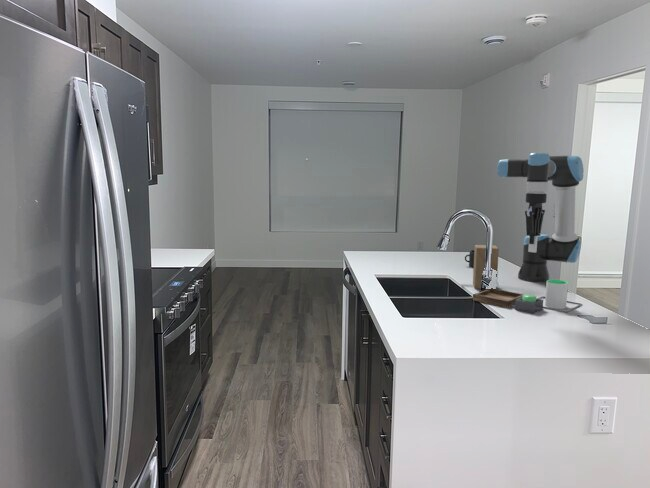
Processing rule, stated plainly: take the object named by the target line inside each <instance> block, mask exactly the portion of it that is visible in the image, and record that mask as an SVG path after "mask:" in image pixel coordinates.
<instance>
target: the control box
mask: <svg viewBox="0 0 650 488" xmlns="http://www.w3.org/2000/svg"><path fill="white" fill-rule="evenodd" d="M543 307H544V299H537V298H536V302H534V303H532V302H527V301H522V297H521V298H519V299H516V300H515V305H514V310H517V311H520V312H526V313H530V314H536V313H539V312H540V311H543V310H544V308H543Z"/></svg>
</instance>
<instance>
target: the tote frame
mask: <svg viewBox="0 0 650 488" xmlns="http://www.w3.org/2000/svg"><path fill="white" fill-rule="evenodd" d="M545 297H546V296H540V297H538V298H537V297H536V299H540V300H542V299H543V298H544V299H545ZM566 303H568V304H574V305H576V306H573V307H571V308H570V309H567V310H564V309H563V310H562V309H556V308H550V307H547V306H543V309H546V310H551V311H557V312H561V313H569V312H571V311H573V310H575V309H577V308H580V307H581V306H583V303H580V302H574V301H569V300H567V302H566Z"/></svg>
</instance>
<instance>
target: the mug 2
mask: <svg viewBox="0 0 650 488" xmlns="http://www.w3.org/2000/svg"><path fill="white" fill-rule="evenodd" d="M545 286H546V287H545V288H546V289H545V296H544V297H545V298H544V300H545V301H544V307H548V308H553V309H558V310H562V309H563V310H564V309H566V308H567V303H568V302H567V301H568V299H567V298H568V287H569V282H568V281H566V280H561V279H549V280H547V281H546V285H545Z"/></svg>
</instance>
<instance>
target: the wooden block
mask: <svg viewBox="0 0 650 488" xmlns="http://www.w3.org/2000/svg"><path fill="white" fill-rule="evenodd" d="M486 245H487V244H475V245H474V249H473V250H474V268H473V273H472V274H473V275H472V285H473V288H474V289H476V290H477V289H478V290H482V289H481V280H482V273H483V269H484V268H485V248H486ZM499 251H500V250H499V248H498V246H497V245H495V244H494V245H492V254H491V268H492V269H494V270H496V271H497V272H498V266H499ZM496 277H497V278H498V273H497V274H496Z"/></svg>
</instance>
